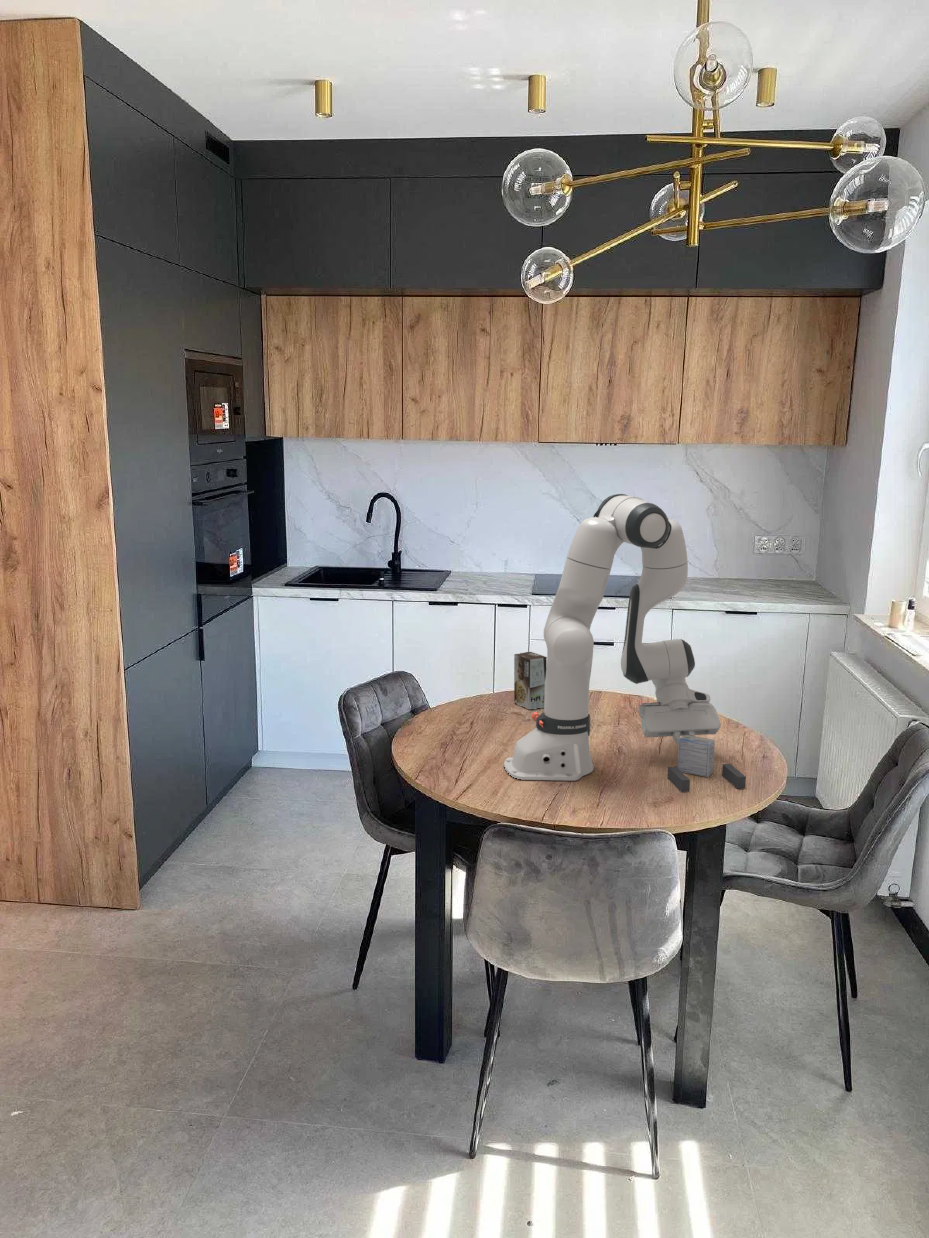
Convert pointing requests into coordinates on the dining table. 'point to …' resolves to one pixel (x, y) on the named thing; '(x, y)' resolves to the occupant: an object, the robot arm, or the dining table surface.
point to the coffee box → (529, 679)
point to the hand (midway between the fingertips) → (687, 749)
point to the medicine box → (696, 755)
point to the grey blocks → (727, 772)
